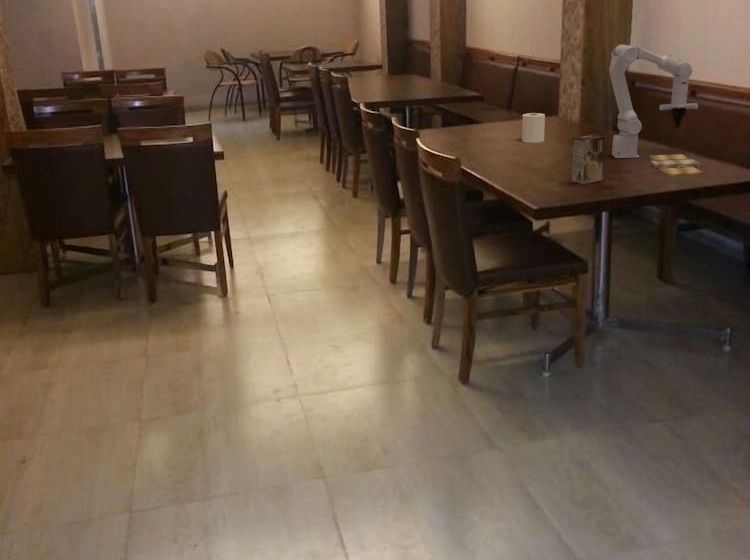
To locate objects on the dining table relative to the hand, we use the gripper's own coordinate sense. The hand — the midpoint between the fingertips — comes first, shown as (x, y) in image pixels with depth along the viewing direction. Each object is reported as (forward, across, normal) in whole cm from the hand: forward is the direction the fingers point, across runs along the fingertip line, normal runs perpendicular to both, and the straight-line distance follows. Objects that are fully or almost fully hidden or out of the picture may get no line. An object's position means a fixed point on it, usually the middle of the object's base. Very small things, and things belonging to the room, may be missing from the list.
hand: (676, 127), depth 312 cm
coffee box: (+11, -44, -44) cm, 63 cm away
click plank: (+10, -7, -15) cm, 19 cm away
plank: (+11, -8, -35) cm, 38 cm away
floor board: (+10, -7, -24) cm, 27 cm away
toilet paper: (+11, -53, +36) cm, 65 cm away
